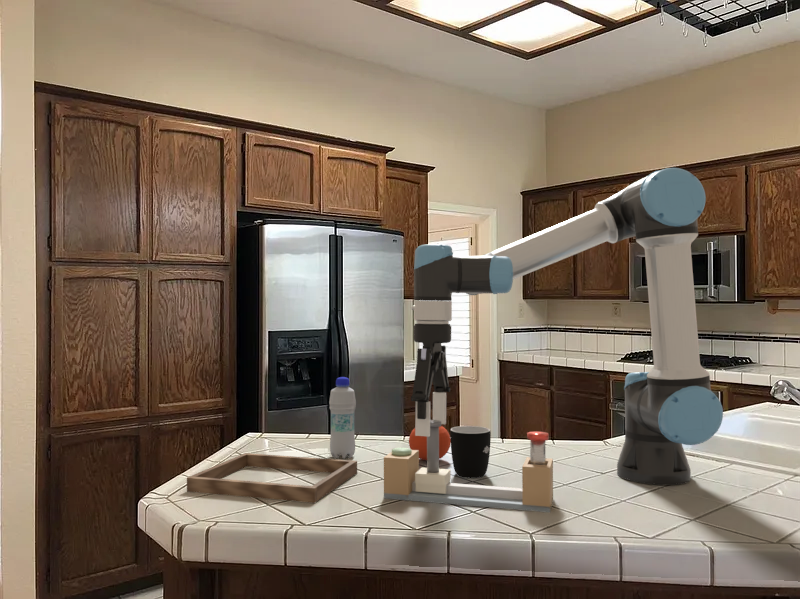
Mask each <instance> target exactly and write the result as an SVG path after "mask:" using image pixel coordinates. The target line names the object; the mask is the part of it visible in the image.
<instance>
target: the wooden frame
mask: <svg viewBox="0 0 800 599" xmlns="http://www.w3.org/2000/svg"><path fill="white" fill-rule="evenodd" d="M247 467H251V468H252V467H253V468H261V469H263V468H264V469H275V470H276V469H279V470H280V469H281V470H289V471H304V472H315V473H316V472H317V473H318V472H319V473H328V474H329V475H327V476H326V477H324V478H322V479H321V480H319V481H318V482H315V483H314V484H313V485H300V484H289V483H275V482H266V481H264V482H263V481H253V480H252V481H251V480H240V479H228V478H227V479H226V478H225V477H227V476H229V475H232V474H235V473H236V472H239V471H240V470H243V469H245V468H247ZM357 474H358V460H351V459H339V458H338V459H337V458H324V457H322V458H320V457H307V456H291V455H279V454H278V455H276V454H264V453H263V454H262V453H250V452H249V453H248V452H246V453H242V454H240V455H238V456H235V457H233V458H230V459H228V460H226V461H223V462H221V463H219V464H217V465H214V466H211V467H209V468H207V469H205V470H202V471H200V472H197V473H194V474H192V475H190V476H188V477H186V492H190V493H200V494H211V495H213V494H214V495H221V496H234V497H235V496H236V497H244V498H257V499H266V500H269V499H270V500H279V501H291V502H300V503H313V504H315V503H317V502H318V501H319V500H321V499H322V498H324V497H326V496H327V495H329V494H330V493H331V492H332V491H334V490H335V489H338V487H339V486H341V485H342V484H344V483H345V482H346V481H348V480H350V479H351V478H353V477H354V476H355V475H357Z"/></svg>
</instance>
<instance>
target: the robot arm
mask: <svg viewBox="0 0 800 599" xmlns="http://www.w3.org/2000/svg"><path fill="white" fill-rule="evenodd" d="M701 182H702V181H700V179H698V178H697V176H695V175H694V174H693V173H691V172H690V171H688V170H686V169H683V168H679V167H667V168H663V169H660V170H655V171H652V172H651V173H650V174H648V175H646V176H645V177H642V178H641V179H639V180H636V181H633V182H632V183H631V184H629V185H628V186H627V187H624V189H622V190H620V191H617V193H615V194H613V195H612V196H610V197H608V198H606V199H604V200H601V201H598V202H596V204H595V205H594V208H593V209H592V210H589V211H586V212H584V213H582V214H579V215H577V216H574V217H572V218H569V219H568V220H565V221H563V222H559V223H558V224H555V225H553V226H551V227H547V228H545V229H543V230H541V231H538V232H536V233H533V234H531V235H529V236H526V237H524V238H521V239H519V240H516V241H514V242H511V243H509V244H507V245H504V246H502V247H499V248H497V249H494V250H493V251H489V252H487V253H485V254H483V255H456V254H454V252H453V248H452V247H451V245H448V244H437V243H436V244H432V243H431V244H421V245H419V246H417V247H416V248H415V250H414V262H413V263H414V265H413V267H414V268H413V305H411V307H410V308H411V310H412V311H413V320H414V321H416V323H414V324H413V342H415V343H418V344H419V343H421V344H422V348H417V351H416V355H417V357H416V358H417V359H416V366H415V374H414V381H413V388H412V395H411V396H410V401H411V402H415V417H414V418H415V422H414V423H415V424H414V425H415V427H414V428H415V436H428V437H429V436H430V420H431V400H430V394H431V390H432V387H433V390H434V391H433V392H432V420H439V421H441V425H446V424H447V393H450V392H451V386H450V384H449V373H448V365H447V364H448V363H447V355H446V354H447V347H446V345H443V344H448V343H450V342H451V341H452V325H451V324H450V323H449V322H451V321H452V319H453V316H452V315H453V313H452V312H453V310H452V309H453V308H452V306H453V304H452V294H467V295H469V296H477V295H480V294H481V295H482V294H493V295H498V294H507V293H509V292H510V291H511V290H512V287H513V281H514V280H516V279H518V278H520V277H523V276H525V275H527V274H530V273H532V272H536V271H538V270H540V269H542V268H544V267H545V268H546V267H547V266H549V265H553V264H555V263H558V262H559V261H562V260H565V259H567V258H569V257H572V256H575V255H578V254H579V253H582V252H584V251H588V250H589V249H591V248H594V247H597V246H598V245H600V244H601V245H602V244H604V243H605V242H608V243H610V244H615V243H619V242H621V241H623V240H626V239H630V238H635V241H636V243H637V244H639V245H640V246H641V247H643V249H644V256H645V269H646V270H645V271H646V280H647V281H646V282H647V294H648V295H647V296H648V306H649V307H648V308H649V319H650V320H649V321H650V331H651V344H652V357H653V366H652V367H653V368H651V369H650V371H638V372H636V371H635V372H634V371H633V372H630V373H628V374H627V375H626V376H625V379H624V386H623V390H624V430H625V431H624V442H623V446H622V448H621V451H620V454H619V457H618V459H617V464H616V466H617V467H616V468H617V469H616V474H617V475H618V477H620V478H623V479H625V480H627V481H631V482H635V483H641V484H647V485H655V486H658V485H659V486H673V485H674V486H675V485H681V484H686V483H688V482H690V481H691V477H692V476H691V475H692V474H691V467H690V464H689V461H688V458H687V456H686V455H687V454H686V453H685V450H684V446H683V445H685V446H696V445H700V444H704V443H705V442H707V441H709V440H710V439H711V438H712V437H713V436H714V435H715V434H716V433H717V432H718V431H719V429H720V428H721V425H722V423H723V418H724V409H723V405H722V402H721V400H720V399H719V398H718V397H717V395H716V394H715V392H713V391H712V389H711V377H710V372H709V371H708V370H706V369H705V367H703V366H702V365H701V360H700V359H701V358H700V348H699V347H700V346H699V335H698V334H699V333H698V322H697V320H698V319H697V308H696V295H695V285H694V284H695V283H694V273H693V258H692V247H691V245H692V243H693V242H694V241H695V240H696V239H697V237H698V236H699V230H698V229H699V228H698V227H699V224H698V218H699V217H700V216H701V214H702V213H703V212H704V208H705V205H706V199H707V198H706V197H707V196H706V191H705V189H704V187H703V184H702V183H701ZM432 385H433V386H432ZM429 400H430V401H429Z"/></svg>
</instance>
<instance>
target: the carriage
mask: <svg viewBox="0 0 800 599" xmlns="http://www.w3.org/2000/svg"><path fill="white" fill-rule="evenodd" d="M440 426H442V424H441V421H439V420H433V419H430V436H429V437H428V436H427V461H426V467H420V468H419V470H418V471H417V472H416V473H415V484H416V491H417V492H429V493H441V494H446V484H447V483H451V480H452V478H451V474H452V472H451V469H449V468H448V469H447V468H440V459H439V427H440Z"/></svg>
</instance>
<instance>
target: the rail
mask: <svg viewBox="0 0 800 599" xmlns="http://www.w3.org/2000/svg"><path fill="white" fill-rule="evenodd" d="M545 463H546V465H533V464H530V456H526V457H525V460H524V462H523V464H522V468H521V469H522V471H521V474H522V475H521V476H522V480H521V482H522V484H521V485H522V488H521V487H511V486H509V487H507V486H497V485H496V486H493V485H484V484H483V485H482V484H469V483H468V484H467V483H455V482H450V483H447V484H446V494H441V493H429V492H417V491H416V484H415V473H416V472H417V471H418V470H420V458H419V450H411V449H410V447H394V448H392V449H391V452H389V453H388V454H387V455H385V456H384V457H383V498H384V499H389V500H390V499H391V500H403V501H412V502H413V501H415V502H422V503H423V502H424V503H425V502H427V503H434V504H435V503H437V504H450V505H451V504H452V505H459V506H460V505H461V506H474V507H483V508H494V509H495V508H497V509H507V510H517V511H518V510H519V511H520V510H522V511H533V512H543V513H551V510H552V506H553V501H554V459H553V458H549V457H547V458H546V457H545Z"/></svg>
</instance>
